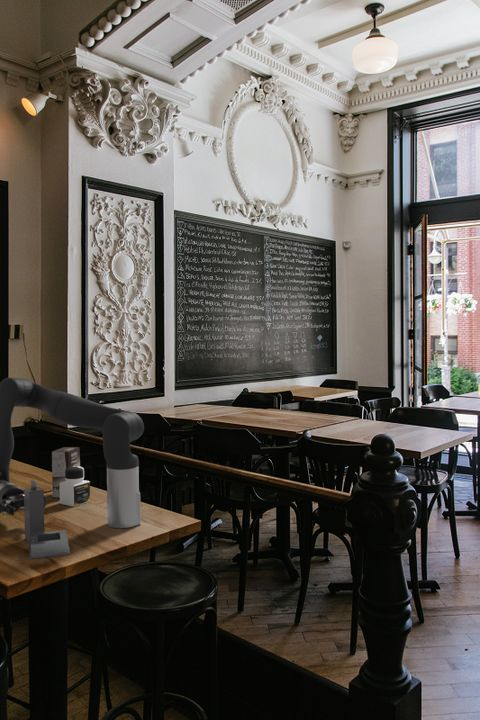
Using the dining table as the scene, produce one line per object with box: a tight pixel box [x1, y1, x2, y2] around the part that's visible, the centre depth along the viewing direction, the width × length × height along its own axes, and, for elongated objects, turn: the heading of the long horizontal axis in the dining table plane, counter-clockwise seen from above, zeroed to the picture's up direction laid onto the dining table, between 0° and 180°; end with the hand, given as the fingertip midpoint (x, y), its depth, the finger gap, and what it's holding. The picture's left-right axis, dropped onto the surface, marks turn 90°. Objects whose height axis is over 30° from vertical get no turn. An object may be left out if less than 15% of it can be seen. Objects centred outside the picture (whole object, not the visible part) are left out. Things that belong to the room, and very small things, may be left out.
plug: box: [23, 479, 46, 544], centre depth 164 cm, size 4×4×16 cm
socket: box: [28, 529, 71, 560], centre depth 156 cm, size 10×10×3 cm
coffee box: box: [51, 446, 81, 498], centre depth 210 cm, size 9×6×16 cm
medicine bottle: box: [59, 466, 91, 507], centre depth 199 cm, size 7×7×12 cm
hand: (28, 508), depth 167 cm, fingers open, 8 cm apart
